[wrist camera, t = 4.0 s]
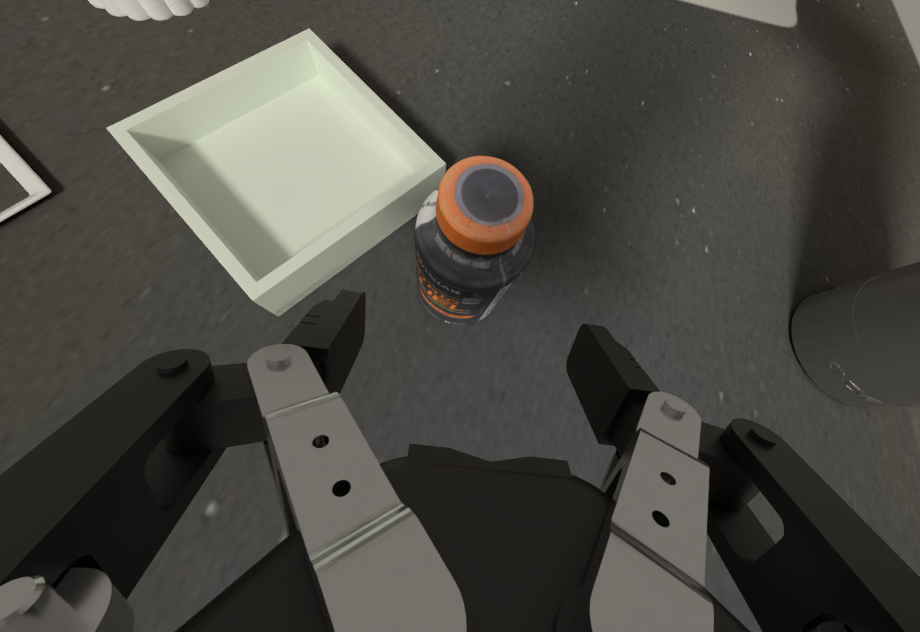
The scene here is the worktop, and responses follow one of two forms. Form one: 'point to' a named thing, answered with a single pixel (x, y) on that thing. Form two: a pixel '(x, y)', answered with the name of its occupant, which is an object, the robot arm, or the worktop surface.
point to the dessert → (21, 179)
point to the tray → (283, 167)
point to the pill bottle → (473, 239)
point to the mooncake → (149, 8)
